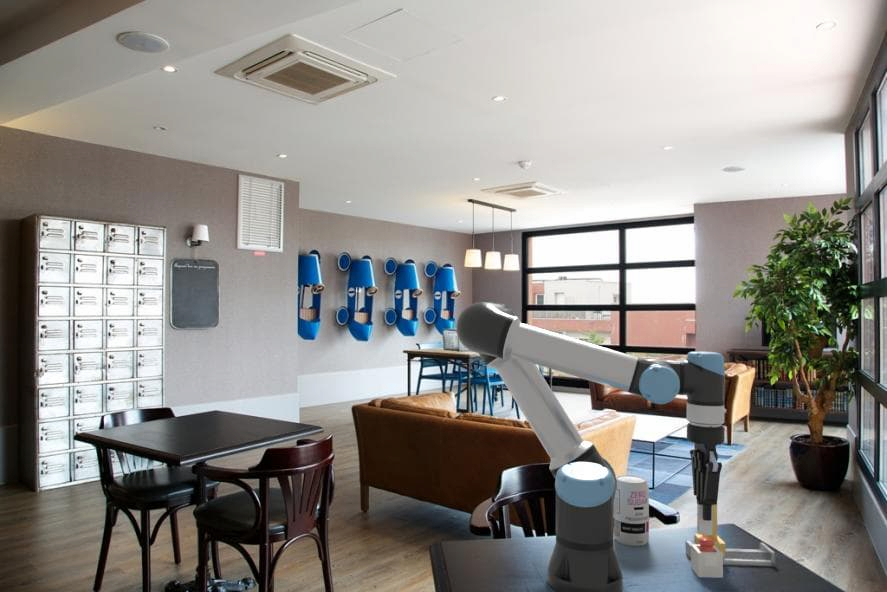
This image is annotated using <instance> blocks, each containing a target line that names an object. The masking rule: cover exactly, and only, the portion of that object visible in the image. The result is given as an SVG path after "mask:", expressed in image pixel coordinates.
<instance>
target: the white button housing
mask: <svg viewBox="0 0 887 592" xmlns="http://www.w3.org/2000/svg"><path fill="white" fill-rule="evenodd" d="M690 568H691V570H692V571H693V572H694V573H695V574H696V576H697V577H698V578H713V579H714V578H715V579H716V578H717V579H719V578H720V579H721V578H724V566H723V554H722V552H721V551H720V550H719V549H718V548H717V547H716V546H715V545H714V546H713V552H701V551H700V545H699V544H695V543H692V544H691V559H690Z"/></svg>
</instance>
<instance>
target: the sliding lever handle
mask: <svg viewBox="0 0 887 592" xmlns="http://www.w3.org/2000/svg"><path fill="white" fill-rule="evenodd" d="M719 490H720V489H718V492H719ZM693 537H694V538H693V539H694V541H693V542H694V543H693V544H699V543H698V538H699V537H708V538H712V539H714V541H715V546H716V547H717V548H718V549H719V550H720V551H721V552H722V554H723V557H725V553H726V549H727V547H726V546H727V544H726V542H725V541H724V540H723V539H722V538H720V536H719V535H718V504H717V505H713V525H712V535H699V534H698V533H694V536H693ZM699 545H700V544H699Z"/></svg>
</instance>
